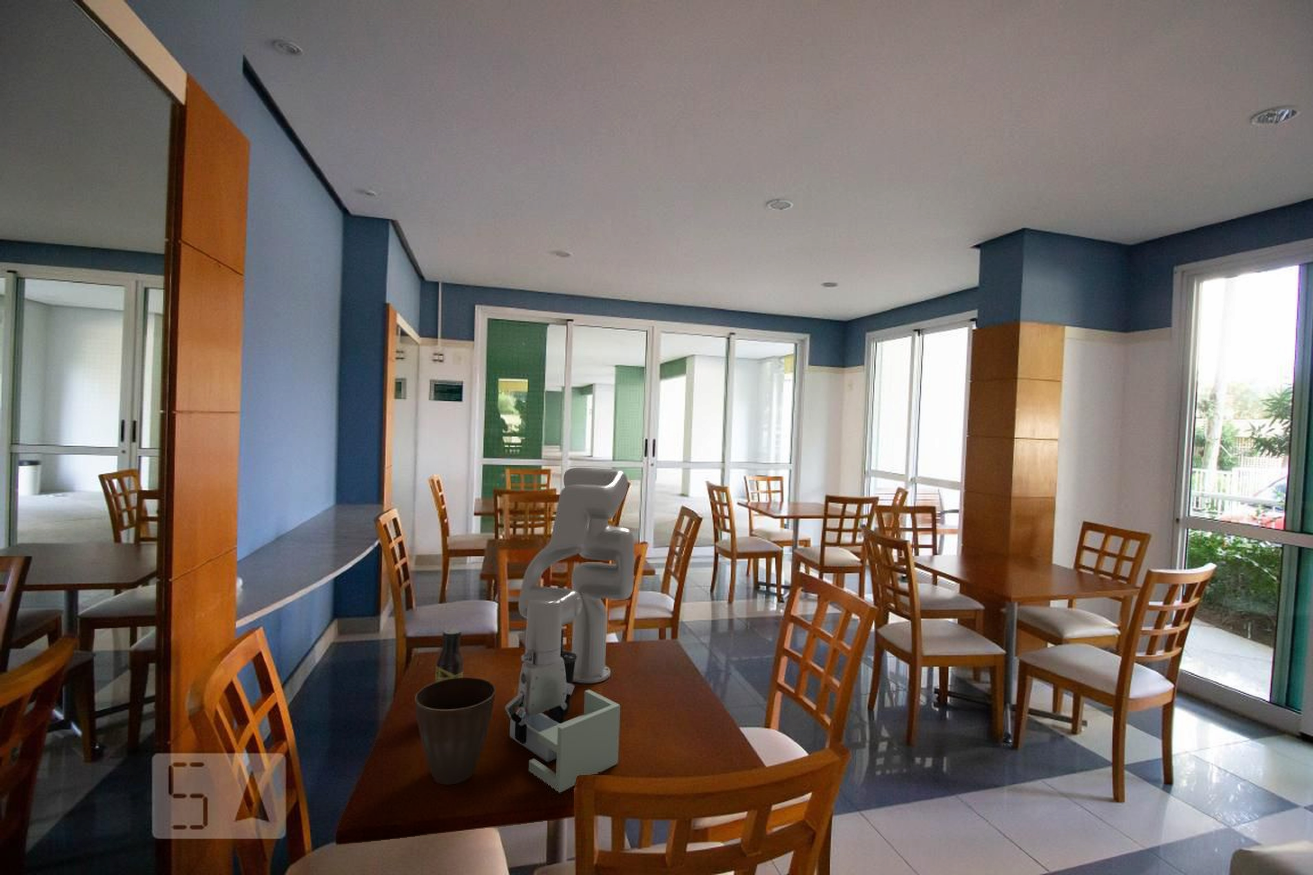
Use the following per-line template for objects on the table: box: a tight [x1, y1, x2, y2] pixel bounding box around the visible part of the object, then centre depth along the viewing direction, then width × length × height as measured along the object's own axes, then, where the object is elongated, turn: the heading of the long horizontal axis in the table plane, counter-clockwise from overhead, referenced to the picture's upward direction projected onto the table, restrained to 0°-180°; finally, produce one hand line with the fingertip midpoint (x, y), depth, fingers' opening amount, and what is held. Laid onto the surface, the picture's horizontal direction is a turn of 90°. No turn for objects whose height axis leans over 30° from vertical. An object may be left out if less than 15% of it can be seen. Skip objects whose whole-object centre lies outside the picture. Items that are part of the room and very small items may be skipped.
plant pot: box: [414, 676, 497, 786], centre depth 114 cm, size 15×15×16 cm
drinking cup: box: [547, 629, 577, 718], centre depth 142 cm, size 8×8×20 cm
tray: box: [509, 712, 559, 763], centre depth 127 cm, size 14×6×4 cm, turn 47°
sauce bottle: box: [434, 627, 464, 683], centre depth 139 cm, size 6×6×20 cm
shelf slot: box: [528, 689, 621, 794], centre depth 118 cm, size 10×15×12 cm, turn 136°
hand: (539, 733), depth 127 cm, fingers open, 9 cm apart
